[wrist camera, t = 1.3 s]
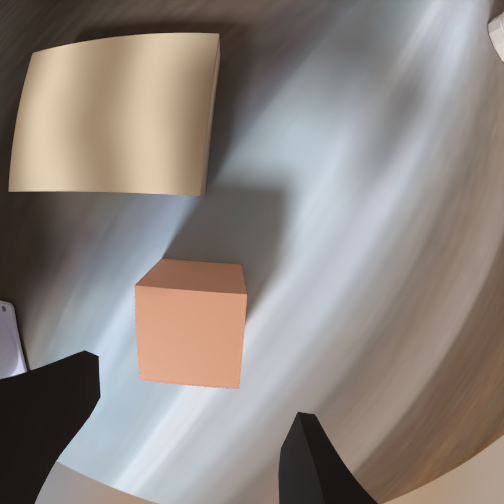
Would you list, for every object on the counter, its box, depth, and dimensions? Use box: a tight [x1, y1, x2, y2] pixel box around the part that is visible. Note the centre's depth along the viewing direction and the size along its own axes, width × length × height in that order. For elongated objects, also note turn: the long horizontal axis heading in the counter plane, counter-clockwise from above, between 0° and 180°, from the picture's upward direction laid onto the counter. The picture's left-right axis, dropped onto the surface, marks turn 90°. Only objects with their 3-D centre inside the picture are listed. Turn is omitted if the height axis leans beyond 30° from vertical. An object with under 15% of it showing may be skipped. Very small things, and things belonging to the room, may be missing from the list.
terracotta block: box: [135, 258, 247, 388], centre depth 17 cm, size 5×5×6 cm
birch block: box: [9, 33, 220, 196], centre depth 15 cm, size 12×9×4 cm
